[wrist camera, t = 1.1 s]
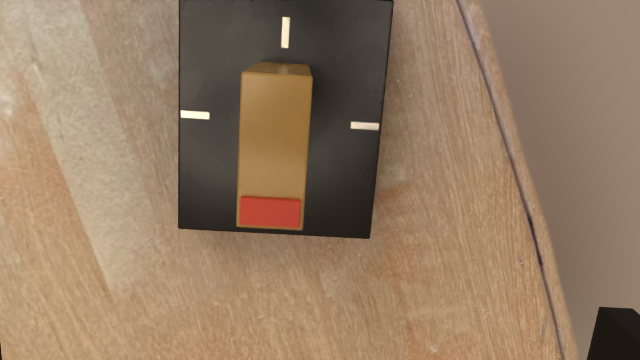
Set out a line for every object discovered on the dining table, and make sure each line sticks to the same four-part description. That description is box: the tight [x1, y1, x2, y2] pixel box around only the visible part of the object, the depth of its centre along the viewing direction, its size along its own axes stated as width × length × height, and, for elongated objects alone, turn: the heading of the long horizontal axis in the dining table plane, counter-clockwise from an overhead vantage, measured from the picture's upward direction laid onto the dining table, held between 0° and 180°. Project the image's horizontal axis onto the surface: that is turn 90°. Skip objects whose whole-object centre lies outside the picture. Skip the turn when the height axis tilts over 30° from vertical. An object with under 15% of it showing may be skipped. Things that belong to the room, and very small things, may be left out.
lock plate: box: [178, 0, 394, 239], centre depth 27 cm, size 12×10×3 cm
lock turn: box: [236, 61, 313, 230], centre depth 22 cm, size 6×2×8 cm, turn 176°
